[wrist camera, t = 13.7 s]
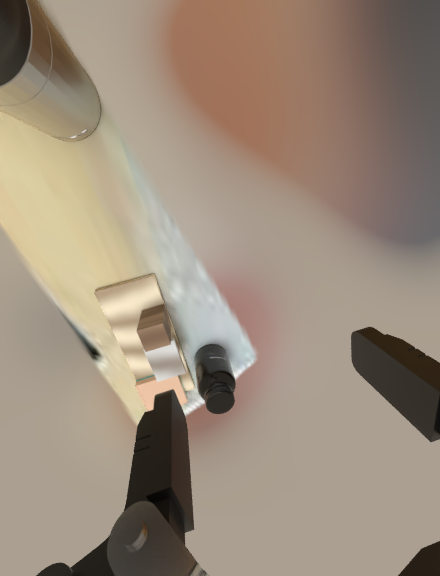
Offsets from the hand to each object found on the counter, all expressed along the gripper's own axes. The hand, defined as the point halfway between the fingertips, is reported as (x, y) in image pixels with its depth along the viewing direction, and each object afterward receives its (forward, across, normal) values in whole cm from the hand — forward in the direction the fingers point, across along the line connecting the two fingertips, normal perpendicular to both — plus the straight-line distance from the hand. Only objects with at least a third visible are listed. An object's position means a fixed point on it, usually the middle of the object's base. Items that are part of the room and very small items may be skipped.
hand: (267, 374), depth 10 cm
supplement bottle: (+33, +4, +24) cm, 41 cm away
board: (+33, +14, +16) cm, 39 cm away
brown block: (+32, +11, +14) cm, 37 cm away
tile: (+31, +14, +23) cm, 41 cm away
